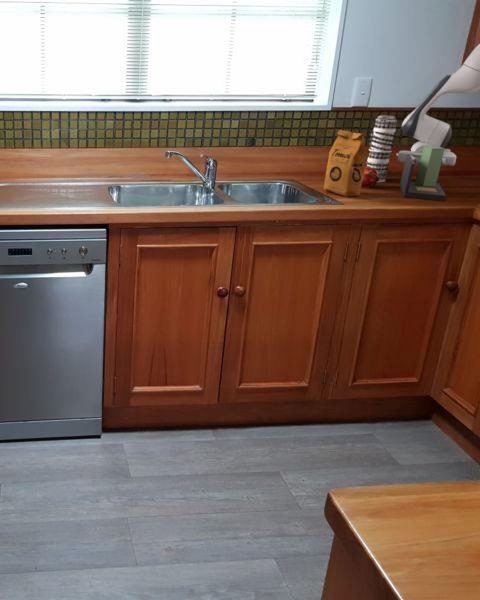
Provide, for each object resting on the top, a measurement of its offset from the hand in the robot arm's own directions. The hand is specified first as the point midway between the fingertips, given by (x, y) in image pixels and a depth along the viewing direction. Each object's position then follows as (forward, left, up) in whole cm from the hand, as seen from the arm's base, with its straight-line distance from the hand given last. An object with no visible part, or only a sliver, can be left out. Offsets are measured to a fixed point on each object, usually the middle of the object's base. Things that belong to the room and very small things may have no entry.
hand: (427, 161), depth 233 cm
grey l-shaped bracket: (+1, +14, -10) cm, 17 cm away
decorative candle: (+17, -4, -10) cm, 20 cm away
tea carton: (0, +8, -8) cm, 11 cm away
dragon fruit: (+21, +11, -10) cm, 26 cm away
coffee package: (+29, +29, -10) cm, 42 cm away
